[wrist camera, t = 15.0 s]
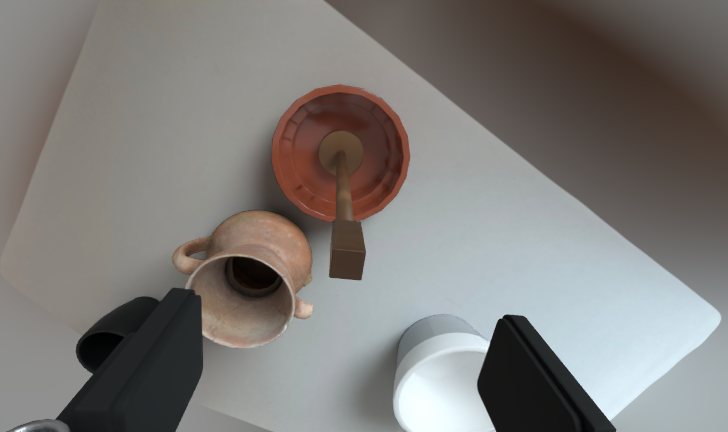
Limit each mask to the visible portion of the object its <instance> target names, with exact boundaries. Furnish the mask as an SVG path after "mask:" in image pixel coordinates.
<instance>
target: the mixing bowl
mask: <svg viewBox="0 0 728 432" xmlns="http://www.w3.org/2000/svg"><path fill="white" fill-rule="evenodd" d="M340 129H341V130H347V131H350V132H352V133H353V134H355V135H356V136H357V137H358V138H359V140H360V141H361V144H362V146H363V150H364V158H363V161H362V164H361V166H360V167H359V168H358V169H357V170H356V171H355V172H354V173H352V174H350V175H349V183H350V191H351V199H352V207H353V214H354V221H359V220H363V219H366V218H368V217H370V216H372V215H374V214H375V213H377V212H379V211H381V210H383V209H384V208H385V207H386V206H387V205H388V204H389V203H390V202H391V201H392V200H393V199H394V198H395V197H396V196H397V194H398V192H399V190H400V188H401V186H402V185H403V183H404V181H405V179H406V176H407V171H408V166H409V161H410V152H409V143H408V136H407V133H406V131H405V129H404V127H403V125H402V123H401V121H400V118H399V116H398V115H397V114H396V113H395V112H394V111H393V110H392V108H391V107H390V106H389V105H388V104H387V103H386V102H385V101H384V100H383V99H382V98H380V97H378V96H376V95H374V94H372V93H370V92H368V91H366V90H365V89H362V88H358V87H351V86H345V85H334V86H328V87H323V88H317V89H315V90H313V91H311V92H310V93H308V94H306V95H304V96H302V97H301V98H299V99H297V100H296V101H295V102H294V103H293V104H292V105H291V107H290V108H289V109H288V110H287V111H286V112H285V113H284V115H283V116H282V117H281V119H280V121H279V124H278V126H277V129H276V131H275V134H274V136H273V140H272V158H271V160H272V165H273V169H274V173H275V176H276V180H277V183H278V184H279V186H280V187H281V189H282V190H283V192H284V193H285V195H286V196H287V198H288V199H289V200H290V201H291V202H292V203H293V204H295V205H296V206H297V207H298V208H299V209H300V210H302V211H303V212H304V213H306V214H308V215H310V216H313V217H315V218H318V219H320V220H322V221H328V222H333V220H334V219H336V175H333V174H330V173H329V172H327V171H326V170H325V169H324V168H323V166H322V165H321V163H320V161H319V157H318V150H319V146H320V143H321V141H322V139H323V138H324V137H325V136H326V135H327V134H328V133H330V132H332V131H334V130H340Z"/></svg>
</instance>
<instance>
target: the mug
mask: <svg viewBox="0 0 728 432" xmlns="http://www.w3.org/2000/svg"><path fill="white" fill-rule="evenodd" d="M159 304H160V302H159V301H158V300H156V299H154V298H151V297H138V298H135V299H134V300H132V301H130V302H128V303H126V304H124V305H122V306H120V307H118V308H116V309H115V310H113V311H112V312H110V313H108V314H107V315H105V316H104V317H103V318H101V319H100V320H99V321H98V322H97V323H95V324H94V325H93V326H92V327H91V328H90V329H89V330H88V331H87V332H86V333H85V334H84V335H83V336H82V337H81V338H80V340H79V341H78V344H77V346H76V354H77V358H78V360H79V362H80V363H81V364H82V366H83V367H84V368H85V369H87V370H88V371H89V372H91V373H93V374H94V373H95V372H96V370H97V369H98V368H99V367H100V366H101V365H102V363H103V362H104V361H105V360H106V359H107V357H108V356H109V355H110V354H111V353H112V351H113V350H114V349H115V348H116V347H117V345H118V344H119V343H120V342H121V341H122V339H123V338H124V337H125V336H126V335H128V334H129V333H132V332H133V333H136V332H137V331H138V329H139V328H140V327H141V326H142V325H143V323H144V322H145V321H146V320H147V318H148V317H149V316H150V315H151V313H152V312H153V311H154V310H155V308H156V307H157V306H158V305H159Z"/></svg>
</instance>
